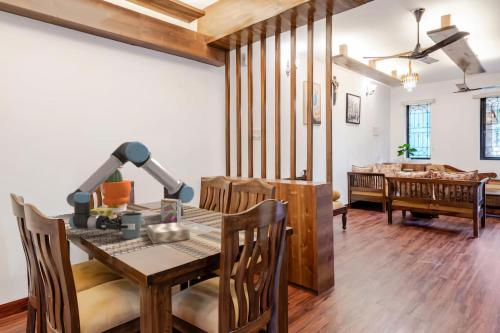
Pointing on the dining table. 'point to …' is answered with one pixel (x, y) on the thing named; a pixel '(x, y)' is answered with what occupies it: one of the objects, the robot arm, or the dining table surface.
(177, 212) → the candy bar box
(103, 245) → the dining table surface
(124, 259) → the dining table surface
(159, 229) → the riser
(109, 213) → the cheese
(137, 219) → the grey green cup
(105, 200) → the potted cactus
